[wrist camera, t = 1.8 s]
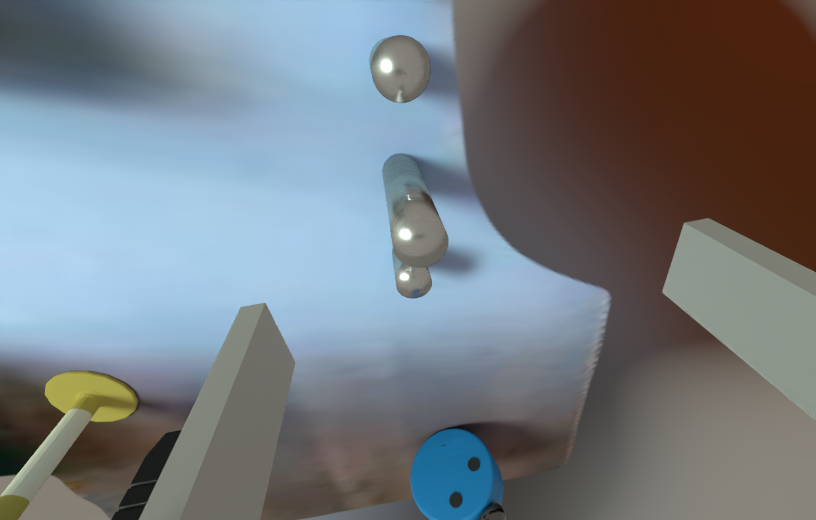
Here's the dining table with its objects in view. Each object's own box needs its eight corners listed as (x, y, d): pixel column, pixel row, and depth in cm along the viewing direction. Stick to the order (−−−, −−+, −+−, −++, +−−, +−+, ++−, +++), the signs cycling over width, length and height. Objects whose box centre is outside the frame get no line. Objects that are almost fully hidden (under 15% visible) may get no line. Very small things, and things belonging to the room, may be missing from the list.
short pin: (393, 266, 38) (398, 300, 33) (390, 240, 36) (394, 271, 31) (423, 262, 38) (432, 295, 33) (422, 236, 36) (431, 267, 31)
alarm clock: (418, 456, 60) (433, 565, 48) (404, 440, 57) (416, 552, 45) (488, 433, 59) (522, 539, 46) (478, 414, 55) (511, 523, 43)
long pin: (384, 190, 33) (395, 270, 22) (380, 155, 31) (390, 222, 20) (419, 186, 33) (448, 264, 22) (416, 151, 32) (448, 215, 20)
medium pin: (372, 88, 28) (375, 105, 20) (366, 39, 27) (367, 38, 19) (412, 84, 29) (431, 100, 21) (409, 35, 27) (429, 32, 19)
